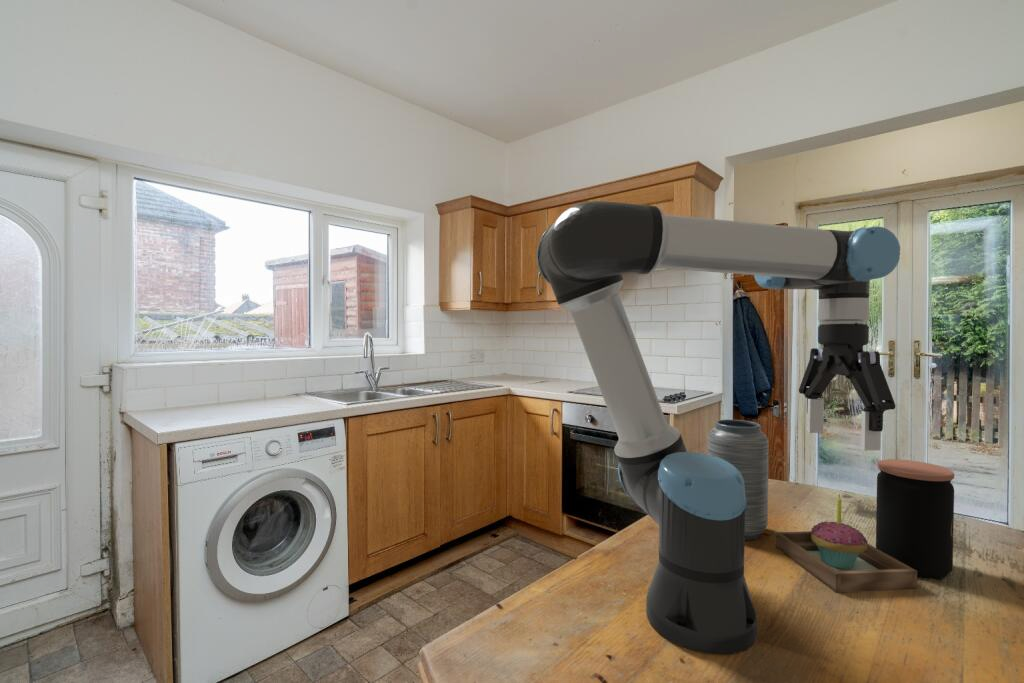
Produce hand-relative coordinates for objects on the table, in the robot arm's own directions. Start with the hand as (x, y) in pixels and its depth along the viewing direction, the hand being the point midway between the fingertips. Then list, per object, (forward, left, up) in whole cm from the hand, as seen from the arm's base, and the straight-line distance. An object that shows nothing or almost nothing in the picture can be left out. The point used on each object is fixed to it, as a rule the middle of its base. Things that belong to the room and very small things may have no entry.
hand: (840, 440), depth 87 cm
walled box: (0, -1, -23) cm, 23 cm away
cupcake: (0, 0, -22) cm, 22 cm away
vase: (-11, +15, -23) cm, 29 cm away
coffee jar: (+13, -2, -23) cm, 26 cm away
